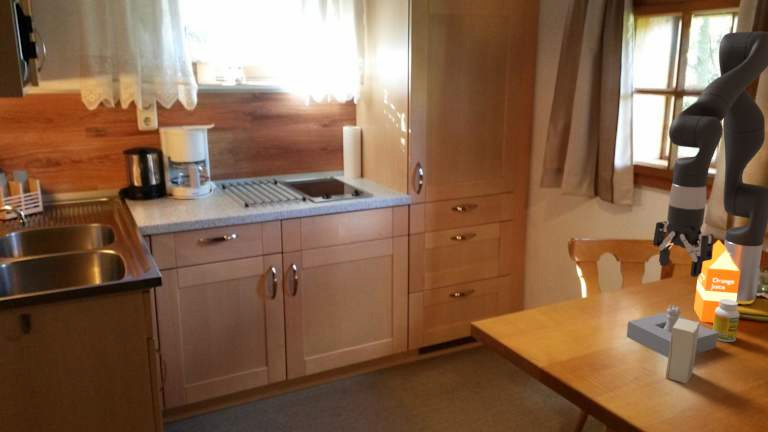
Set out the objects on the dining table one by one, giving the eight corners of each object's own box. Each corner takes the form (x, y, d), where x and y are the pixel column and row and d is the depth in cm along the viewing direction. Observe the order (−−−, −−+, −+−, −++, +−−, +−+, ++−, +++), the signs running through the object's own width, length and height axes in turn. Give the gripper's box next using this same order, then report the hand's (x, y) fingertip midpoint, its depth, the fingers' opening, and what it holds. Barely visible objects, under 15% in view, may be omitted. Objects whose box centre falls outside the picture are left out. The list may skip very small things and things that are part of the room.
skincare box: (672, 367, 141) (678, 316, 138) (693, 373, 139) (700, 321, 136) (665, 378, 136) (671, 326, 133) (687, 384, 134) (694, 332, 131)
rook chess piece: (678, 343, 150) (682, 312, 148) (658, 339, 153) (662, 308, 151) (682, 337, 154) (686, 306, 152) (662, 332, 156) (666, 302, 154)
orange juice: (724, 311, 171) (734, 240, 166) (733, 324, 163) (744, 250, 158) (693, 308, 173) (702, 238, 168) (700, 321, 165) (710, 248, 160)
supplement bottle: (718, 331, 159) (724, 295, 157) (740, 339, 155) (745, 302, 152) (706, 336, 156) (711, 300, 154) (728, 344, 152) (733, 307, 150)
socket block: (666, 325, 162) (668, 311, 161) (715, 348, 150) (717, 332, 149) (626, 336, 156) (628, 321, 155) (674, 360, 144) (676, 344, 143)
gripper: (726, 208, 140) (716, 277, 144) (672, 195, 152) (665, 259, 156) (703, 212, 137) (694, 283, 141) (650, 199, 149) (643, 264, 153)
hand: (679, 270), depth 149 cm, fingers open, 8 cm apart
